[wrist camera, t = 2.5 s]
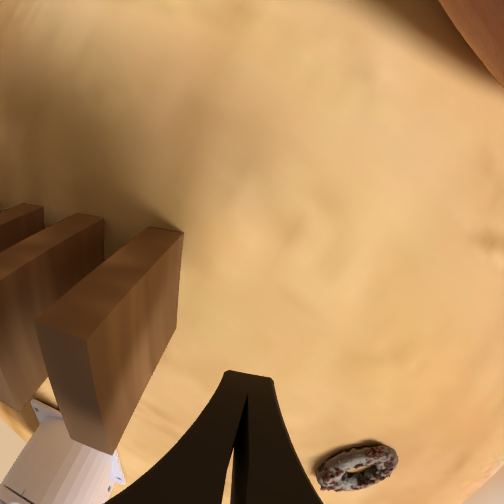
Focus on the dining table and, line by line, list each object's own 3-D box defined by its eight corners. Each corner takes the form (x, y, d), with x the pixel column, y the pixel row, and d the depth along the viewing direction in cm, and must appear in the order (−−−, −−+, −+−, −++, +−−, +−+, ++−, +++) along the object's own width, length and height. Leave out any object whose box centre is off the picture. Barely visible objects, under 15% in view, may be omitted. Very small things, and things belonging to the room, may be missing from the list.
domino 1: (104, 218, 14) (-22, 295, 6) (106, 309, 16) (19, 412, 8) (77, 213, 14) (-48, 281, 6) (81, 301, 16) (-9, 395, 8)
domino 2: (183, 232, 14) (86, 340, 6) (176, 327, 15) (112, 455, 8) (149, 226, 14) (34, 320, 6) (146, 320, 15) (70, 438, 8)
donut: (419, 452, 19) (424, 471, 17) (341, 489, 22) (342, 507, 20) (371, 415, 17) (377, 439, 15) (280, 460, 20) (279, 482, 18)
